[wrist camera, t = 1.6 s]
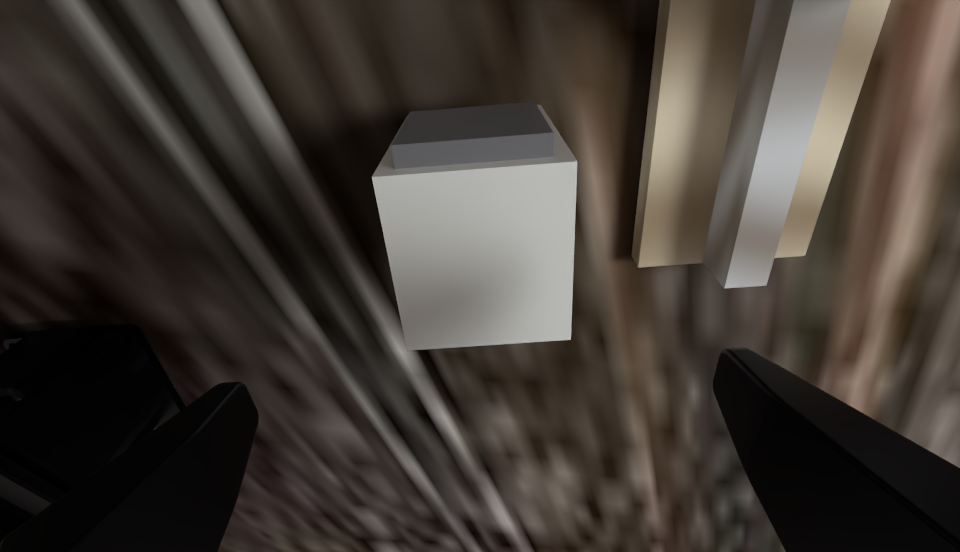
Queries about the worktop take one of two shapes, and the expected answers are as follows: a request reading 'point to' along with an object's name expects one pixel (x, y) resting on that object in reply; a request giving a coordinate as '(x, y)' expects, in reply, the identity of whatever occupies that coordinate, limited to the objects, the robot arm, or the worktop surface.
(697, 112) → the rail
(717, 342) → the worktop surface
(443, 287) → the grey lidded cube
